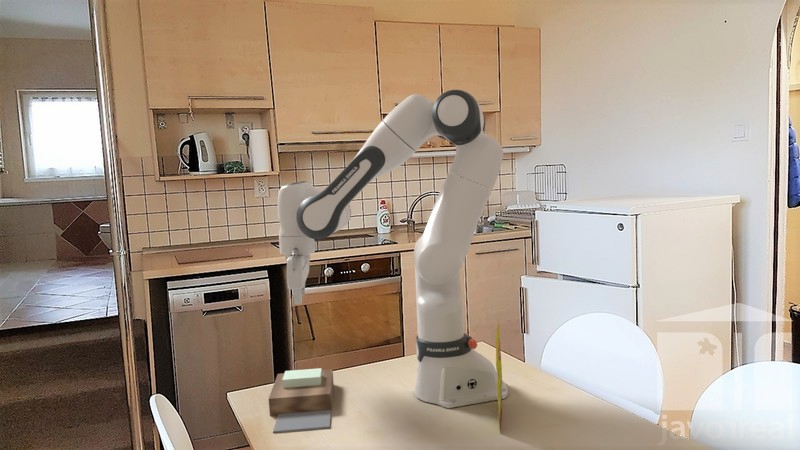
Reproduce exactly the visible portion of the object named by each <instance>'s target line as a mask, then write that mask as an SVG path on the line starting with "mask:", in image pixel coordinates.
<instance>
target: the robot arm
mask: <svg viewBox="0 0 800 450" xmlns="http://www.w3.org/2000/svg"><path fill="white" fill-rule="evenodd" d="M485 127H486V118H485V115H484V112H483V109H482V107H481V105H480V104H479V102H478V101H477V99H475V97H474V96H473V95H472V94H470V93H469V92H467V91H465V90H462V89H450V90H448V91H445V92H443V93H441V94H440V95H439V96H438V97H437V99H436V100H435V101H432V100H431V99H430V98H429V97H426V96H425V95H422V94H419V93H413V94H411V95H409V96H408V97H406V98H404V100H402V101H401V102H400V103H399V104H397V105H396V106H395V107H394V108H393V109H392V110H391V111H389V113H387V115H386V116H385V117H384V118H383V119H382V120H381V121H380V122H379V123H378V125H377V126H376V127H375V129H374V130H373V131H372V133H371V134H370V135H369V136H368V138H367V139H366V141H365V142H364V144H363V145H362V147H361V148H360V149H359V151H358V152H357V153H356V155H355V156H354V158H353V159H352V160H351V161H350V162H349V164H347V166H346V167H345V168H344V169H343V170H342V171H341V172H339V174H338V175H337V176H336V177H335V178H334V179H333V181H331V183H330V184H328V186H327V187H326V188H325V189H323V190H322V189H320V188H319V187H316V186H314V185H313V184H311V183H310V182H309V181H304V180H302V181H295V182H291V183H287V184H284V185H282V186H281V187H280V189H279V190H278V195H277V219H278V222H279V230H278V244H279V245H278V247H279V254H280V255H282V256H283V255H284V259H285V261H286V281H287V285H286V286H287V289H288V290H292V296H293V304H294V305H301V304H302V303H303V296H305V295H306V282H307V278H308V276H309V273H310V264H311V263H310V261H311V254H313V253H315V252H316V243H315V242H316V241H315V240H324V239H327V238H329V237H330V236H331V235H332V234H334V233H336V232H339V231H340V230H342V229H344V227H346V226H347V224H349V221H350V219H351V216H352V211H351V206H350V203H351V202H352V201H353V200H355V198H356V197H357V196H358V195H359V194H360V192H361V191H363V190H364V188H365V187H367V186H368V185H369V184H370V183H371V182H372V181H374V180H375V179H377V178H379V177H381V176H384V175H385V174H388V173H391V172H393V171H395V170H397V169H398V168H399V167H401V166H402V165H404V164H405V163H406V162H407V161H408V160H410V158H411V157H412V156H414V155H415V153H416V152H417V151H418V150H419V149H420V147H421V146H422V145H423V144H425V143H426V141H428V140H429V139H430V138H432V137H435V136H437V137H439V138H440V139H443V140H444V141H446V142H449V143H450V144H453V145H454V146H455V155H454V160H453V162H452V163H451V166H450V169H449V171H448V173H447V175H446V177H445V180H444V182H443V184H442V187H441V189H440V191H439V194H438V196H437V198H436V201H435V203H434V205H433V208H432V211H431V213H430V215H429V219H428V221H427V224H426V226H425V228H424V231H423V233H422V235H420V237H419V238H418V239H417V240H416V242H415V246H414V249H413V263H414V276H415V279H414V280H415V282H414V283H415V301H416V306H415V307H416V323H417V335H416V337H415V338H416V339H415V340H416V342H415V349H416V350H415V352H416V358H417V362H418V363H417V365H418V366H417V374H416V375H417V376H416V382H415V385H414V386H415V387H414V391H413V394H414V396H415V397H416V398H417V399H419V400H421V401H422V402H427V403H430V404H435V405H439V406H440V407H443V408H448V409H452V408H456V407H463V406H469V405H474V404H480V403H486V402H492V401H498V393H497V376H496V366H494V364H493V362H491V360H490V359H489V358H487V357H486V356H484V354H483V355H482V354H481V352H478V351H477V350H475V349H477V347H478V342H477V341H476V339H475V338H473V337H472V336H471V335H469V334H468V333H467V332H464V331H465V330H464V328H465V327H464V308H463V307H464V306H463V294H462V286H461V285H462V284H461V270H462V267H463V265H464V263H465V260H466V258H467V255H468V252H469V249H470V247H471V244H472V242H473V238H474V236H475V233H476V229H477V226H478V224H479V221H480V218H482V217H481V216H482V214H483V211H484V210H485V208H486V205H487V203H488V201H489V199H490V196H491V194H492V192H493V189H494V187H495V185H496V183H497V180H498V177H499V175H500V171H501V167H502V164H503V163H502V162H503V159H504V148H503V146H502V145H501V144H500V142H499V141H498V140H496V139H495V138H493V137H492V136H489V135H487V134H486V133H485V132H484V131H485V129H486V128H485ZM508 395H509V390H508V385H507V384H506V383H505V381H504V380H503V379H502V400H503V399H506V398H507V397H508Z"/></svg>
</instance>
